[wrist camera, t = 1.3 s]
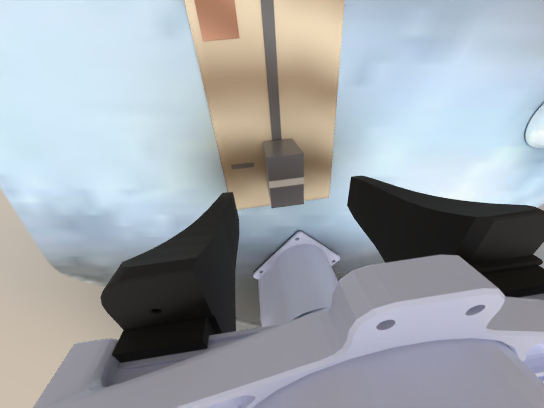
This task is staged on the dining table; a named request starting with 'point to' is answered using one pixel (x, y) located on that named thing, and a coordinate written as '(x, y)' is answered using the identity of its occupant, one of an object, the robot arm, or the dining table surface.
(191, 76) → the dining table surface
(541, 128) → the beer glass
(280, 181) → the fader knob
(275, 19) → the fader board
